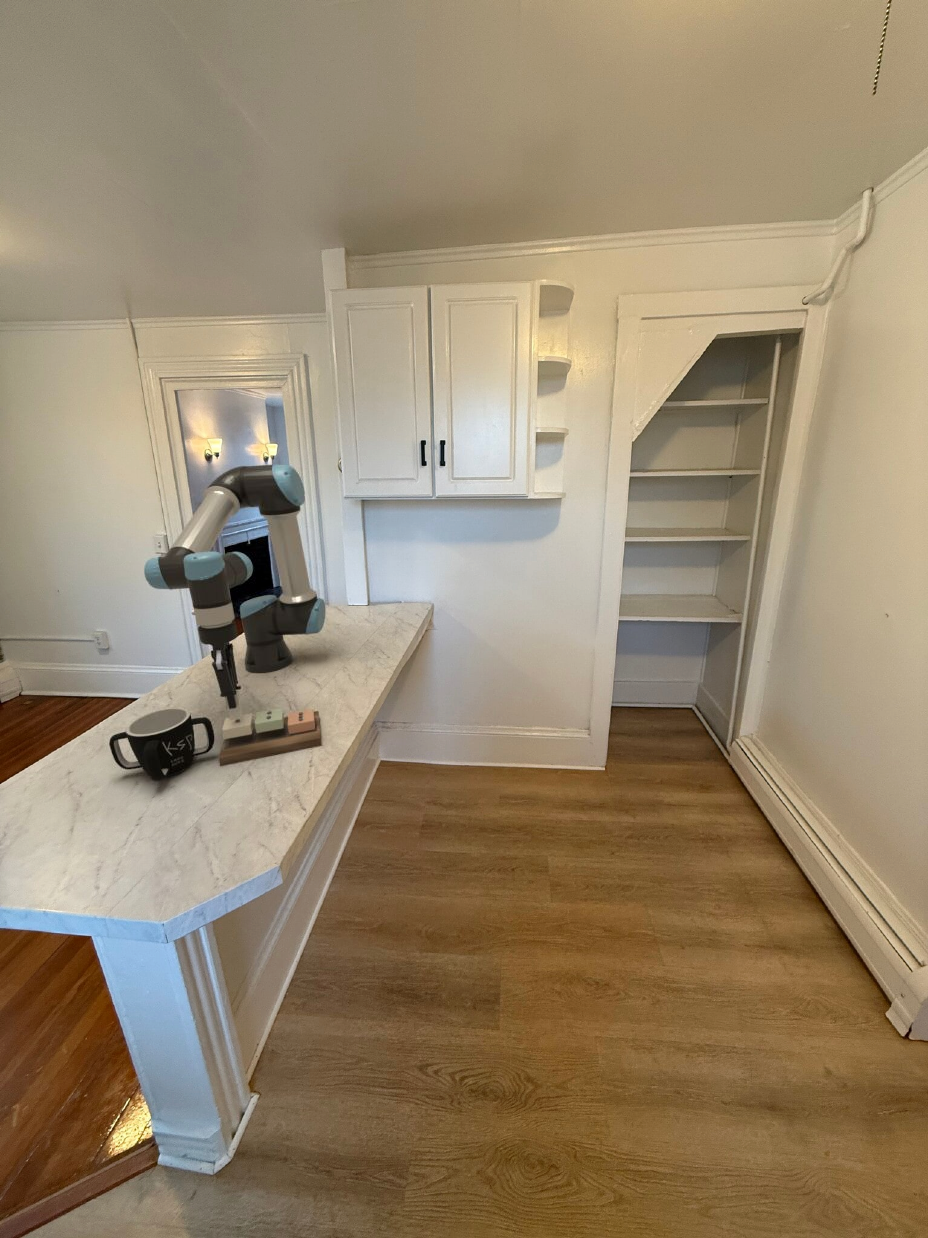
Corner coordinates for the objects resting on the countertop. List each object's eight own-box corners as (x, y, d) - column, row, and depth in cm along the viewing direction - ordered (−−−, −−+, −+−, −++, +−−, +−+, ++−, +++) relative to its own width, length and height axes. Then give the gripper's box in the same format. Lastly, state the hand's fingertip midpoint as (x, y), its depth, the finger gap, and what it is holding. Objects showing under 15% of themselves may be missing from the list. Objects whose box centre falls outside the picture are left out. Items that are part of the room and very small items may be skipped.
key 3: (289, 722, 119) (288, 712, 118) (314, 717, 121) (313, 708, 120) (289, 734, 114) (287, 724, 113) (315, 729, 115) (313, 719, 114)
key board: (228, 734, 119) (227, 727, 118) (319, 717, 125) (318, 710, 125) (220, 766, 106) (218, 758, 106) (321, 745, 113) (320, 737, 112)
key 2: (258, 720, 116) (256, 711, 116) (284, 716, 118) (282, 706, 117) (256, 733, 111) (254, 723, 110) (283, 728, 113) (281, 718, 112)
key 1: (227, 726, 114) (225, 716, 114) (254, 721, 116) (252, 712, 115) (224, 739, 109) (221, 729, 108) (251, 734, 111) (249, 724, 110)
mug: (151, 800, 96) (136, 749, 92) (114, 776, 104) (99, 728, 101) (225, 758, 109) (215, 712, 106) (187, 740, 117) (176, 696, 114)
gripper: (203, 617, 109) (223, 708, 116) (191, 634, 97) (214, 735, 104) (238, 613, 111) (255, 703, 118) (230, 629, 99) (250, 728, 106)
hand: (236, 718), depth 111 cm, fingers closed
